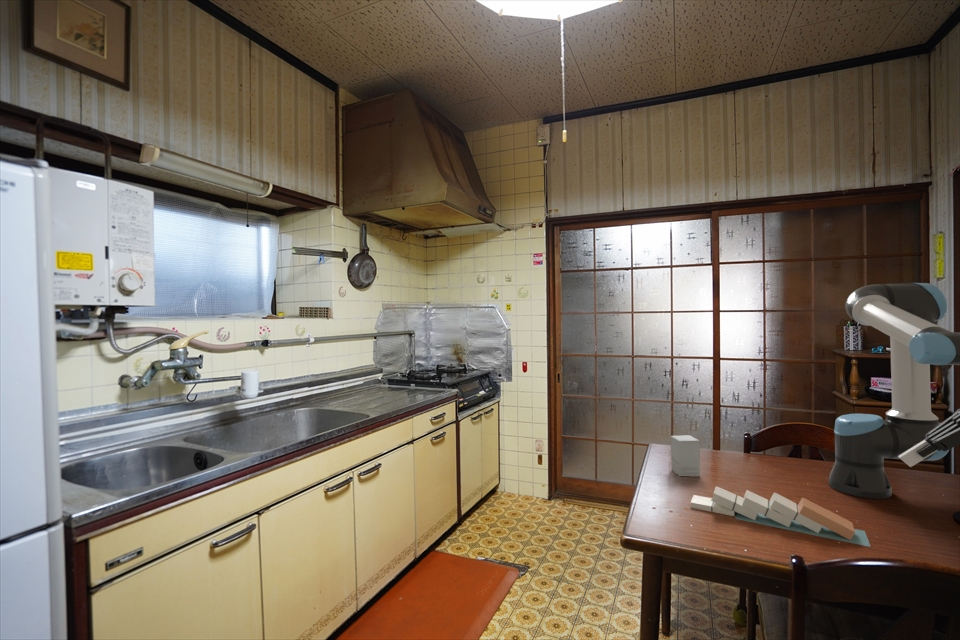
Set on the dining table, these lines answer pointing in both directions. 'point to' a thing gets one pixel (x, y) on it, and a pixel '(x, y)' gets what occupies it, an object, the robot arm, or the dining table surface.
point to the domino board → (857, 538)
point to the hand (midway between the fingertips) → (904, 461)
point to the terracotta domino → (826, 518)
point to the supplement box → (685, 455)
